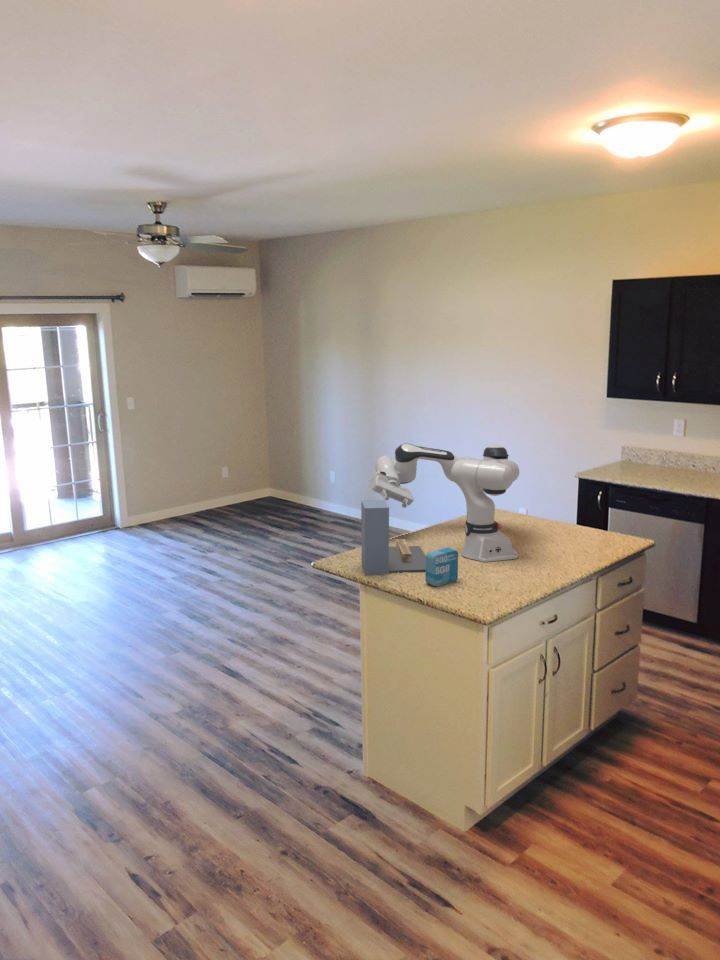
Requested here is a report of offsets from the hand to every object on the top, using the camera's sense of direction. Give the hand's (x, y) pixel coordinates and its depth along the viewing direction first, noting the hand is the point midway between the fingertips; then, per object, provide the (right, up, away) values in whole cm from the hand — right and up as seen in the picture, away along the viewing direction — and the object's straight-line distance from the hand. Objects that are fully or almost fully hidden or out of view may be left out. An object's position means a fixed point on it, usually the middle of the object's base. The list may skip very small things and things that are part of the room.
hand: (395, 502), depth 316 cm
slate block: (-9, -25, -29) cm, 39 cm away
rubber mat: (+3, -22, -17) cm, 28 cm away
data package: (+15, -28, -42) cm, 53 cm away
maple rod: (+2, -21, -14) cm, 25 cm away
